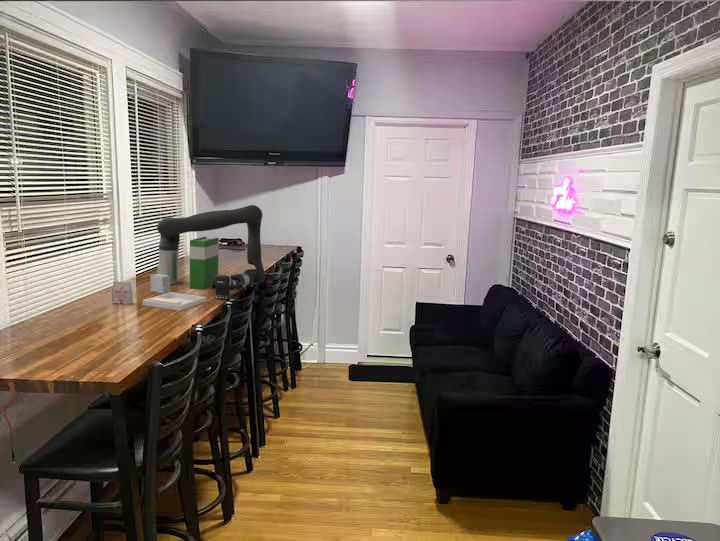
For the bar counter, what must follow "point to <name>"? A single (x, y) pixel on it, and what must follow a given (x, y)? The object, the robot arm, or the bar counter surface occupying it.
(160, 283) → the medicine box
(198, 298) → the tray
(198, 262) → the hardback book
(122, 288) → the tea bag
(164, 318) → the bar counter surface
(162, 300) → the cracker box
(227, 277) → the battery charger
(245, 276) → the robot arm
